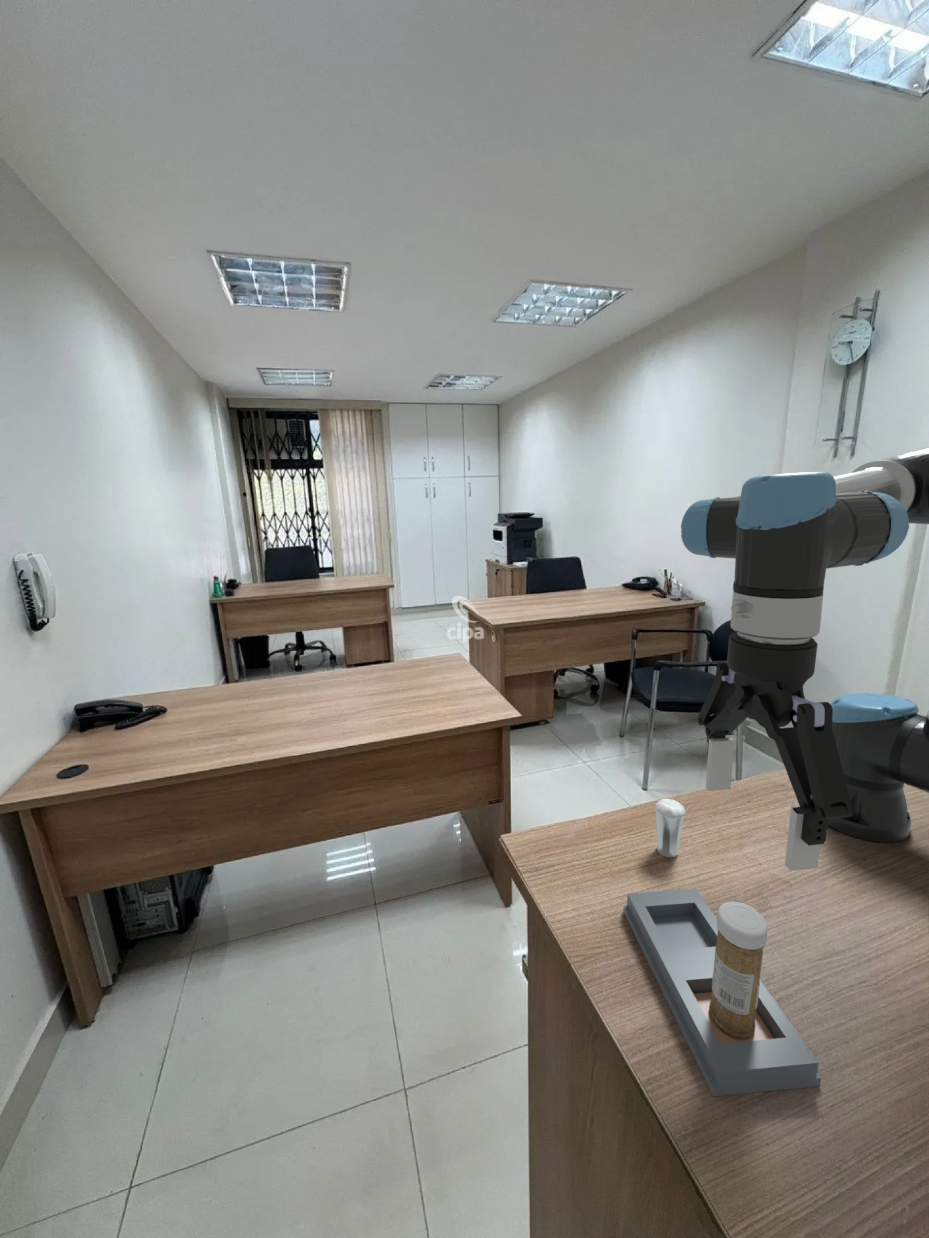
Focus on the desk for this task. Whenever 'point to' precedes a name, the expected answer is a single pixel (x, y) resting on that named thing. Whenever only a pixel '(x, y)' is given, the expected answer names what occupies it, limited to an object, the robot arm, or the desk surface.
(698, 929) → the two-pocket grey tray
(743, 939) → the sprinkles bottle
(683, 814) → the milkshake
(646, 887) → the desk surface
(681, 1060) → the desk surface
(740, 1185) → the desk surface
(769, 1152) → the desk surface
